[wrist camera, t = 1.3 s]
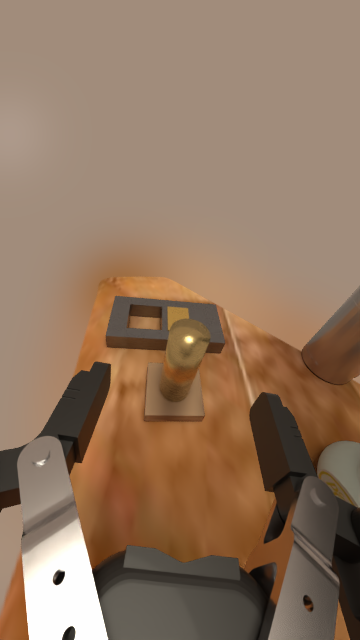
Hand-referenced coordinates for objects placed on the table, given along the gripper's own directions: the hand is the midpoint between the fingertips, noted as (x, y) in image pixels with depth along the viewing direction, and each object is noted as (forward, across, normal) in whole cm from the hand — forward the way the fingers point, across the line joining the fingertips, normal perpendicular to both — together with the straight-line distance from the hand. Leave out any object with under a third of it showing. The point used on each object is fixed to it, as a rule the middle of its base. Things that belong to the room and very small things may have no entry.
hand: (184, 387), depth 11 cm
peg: (+13, -2, +17) cm, 21 cm away
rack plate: (+26, +1, +17) cm, 31 cm away
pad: (+13, -2, +19) cm, 23 cm away
